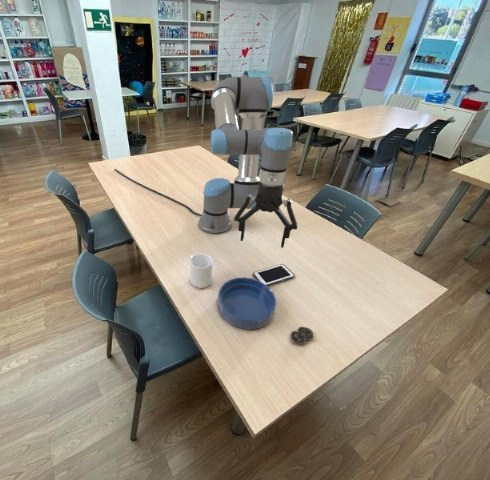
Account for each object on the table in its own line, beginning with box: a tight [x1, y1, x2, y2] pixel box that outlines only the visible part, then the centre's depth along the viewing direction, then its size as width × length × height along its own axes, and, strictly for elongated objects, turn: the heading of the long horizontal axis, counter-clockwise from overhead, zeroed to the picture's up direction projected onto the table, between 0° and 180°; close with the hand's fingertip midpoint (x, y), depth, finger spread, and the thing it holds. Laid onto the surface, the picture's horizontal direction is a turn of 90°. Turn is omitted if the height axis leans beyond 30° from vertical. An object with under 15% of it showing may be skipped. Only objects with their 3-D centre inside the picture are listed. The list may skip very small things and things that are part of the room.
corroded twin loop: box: [290, 326, 314, 345], centre depth 88 cm, size 5×8×1 cm, turn 118°
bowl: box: [217, 276, 277, 330], centre depth 97 cm, size 19×19×5 cm
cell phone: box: [252, 263, 295, 287], centre depth 110 cm, size 8×15×1 cm, turn 112°
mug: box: [188, 253, 214, 289], centre depth 107 cm, size 12×8×10 cm
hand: (261, 242), depth 96 cm, fingers open, 13 cm apart
